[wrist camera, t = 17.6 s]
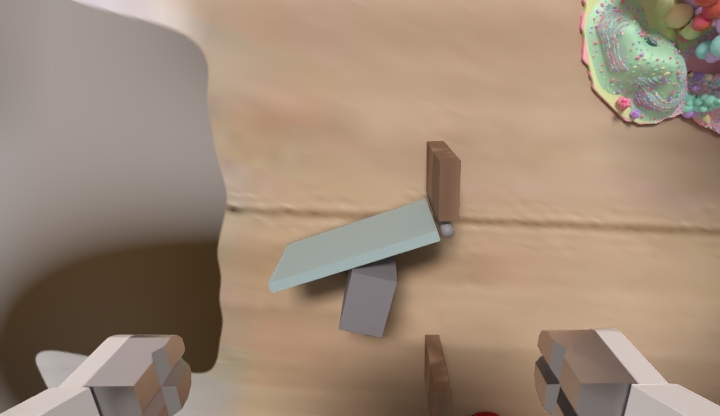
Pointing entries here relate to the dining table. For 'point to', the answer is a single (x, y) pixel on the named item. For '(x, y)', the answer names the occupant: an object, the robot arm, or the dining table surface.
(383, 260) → the block
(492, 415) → the plastic cup
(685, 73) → the candy landscape model
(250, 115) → the dining table surface
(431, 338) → the wooden blocks
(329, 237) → the door
